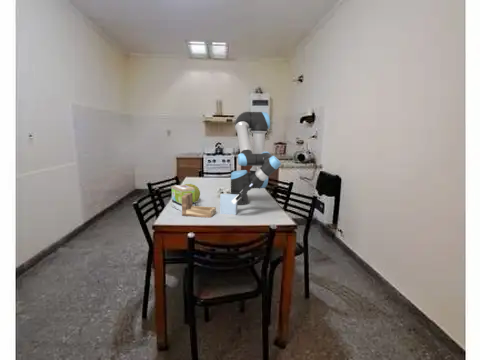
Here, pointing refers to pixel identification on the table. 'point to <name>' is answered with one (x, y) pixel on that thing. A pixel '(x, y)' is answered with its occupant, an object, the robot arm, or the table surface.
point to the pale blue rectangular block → (228, 204)
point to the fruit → (197, 191)
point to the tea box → (179, 192)
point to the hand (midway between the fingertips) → (234, 200)
